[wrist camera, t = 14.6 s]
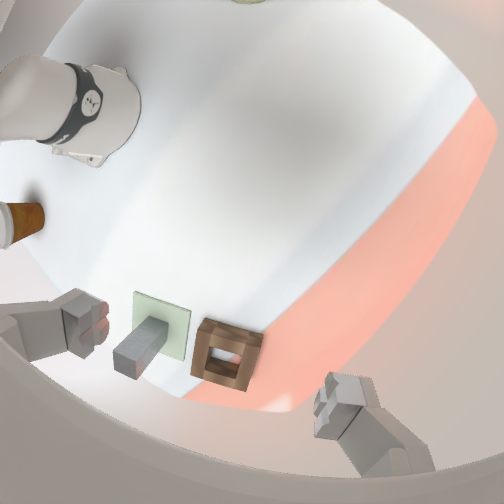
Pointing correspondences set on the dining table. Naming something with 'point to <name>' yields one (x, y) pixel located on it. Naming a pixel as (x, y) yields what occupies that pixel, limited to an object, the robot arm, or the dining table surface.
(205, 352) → the socket block
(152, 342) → the peg
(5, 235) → the disposable coffee cup
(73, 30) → the dining table surface
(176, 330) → the mat
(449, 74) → the dining table surface
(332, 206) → the dining table surface
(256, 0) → the reusable coffee cup
